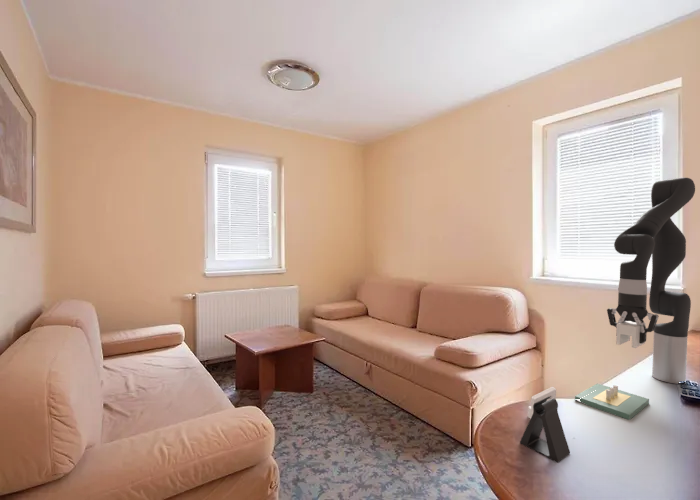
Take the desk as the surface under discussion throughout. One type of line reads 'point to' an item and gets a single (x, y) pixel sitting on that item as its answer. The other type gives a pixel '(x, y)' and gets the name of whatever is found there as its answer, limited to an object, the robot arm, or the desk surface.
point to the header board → (613, 400)
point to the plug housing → (628, 333)
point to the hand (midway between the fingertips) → (630, 340)
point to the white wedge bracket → (546, 393)
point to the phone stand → (546, 431)
